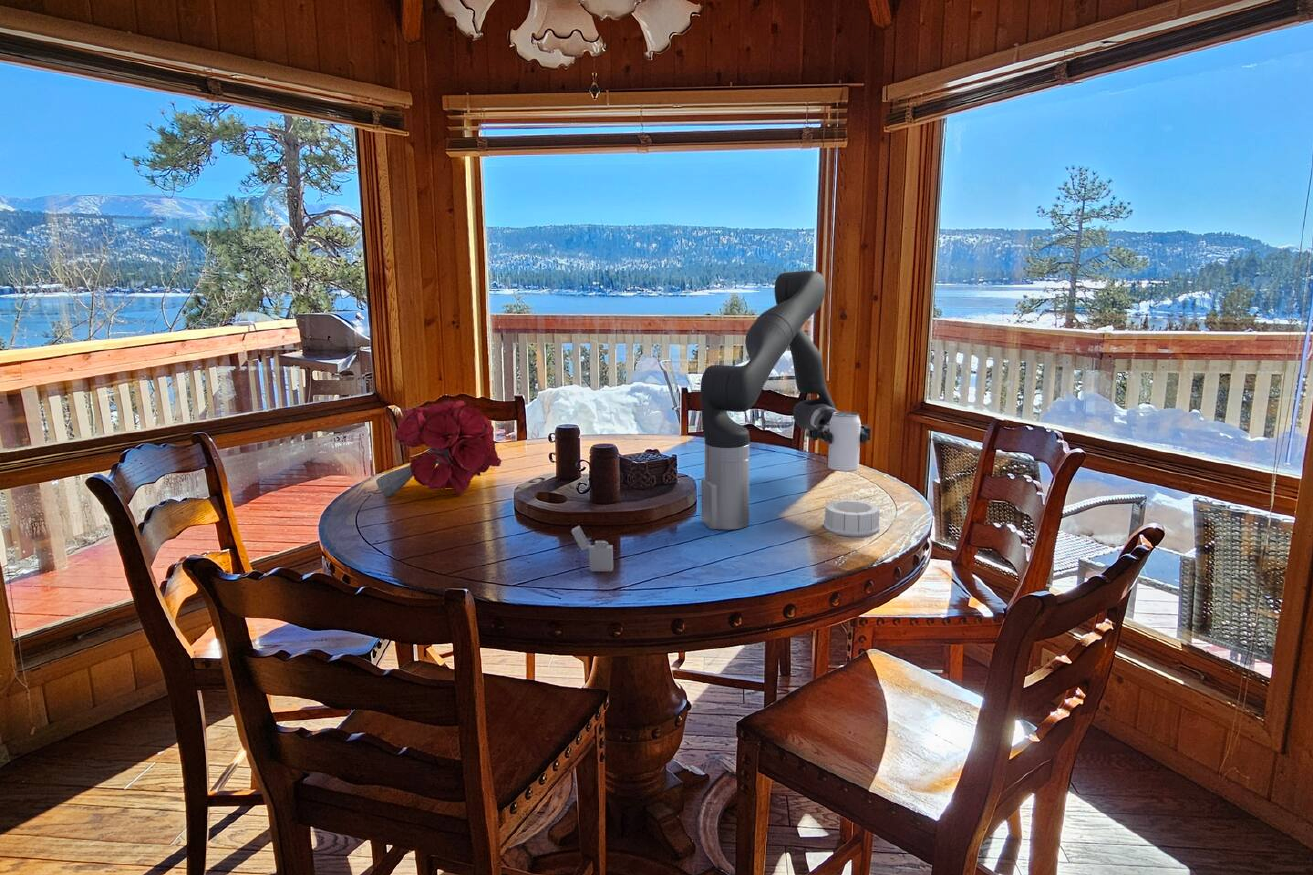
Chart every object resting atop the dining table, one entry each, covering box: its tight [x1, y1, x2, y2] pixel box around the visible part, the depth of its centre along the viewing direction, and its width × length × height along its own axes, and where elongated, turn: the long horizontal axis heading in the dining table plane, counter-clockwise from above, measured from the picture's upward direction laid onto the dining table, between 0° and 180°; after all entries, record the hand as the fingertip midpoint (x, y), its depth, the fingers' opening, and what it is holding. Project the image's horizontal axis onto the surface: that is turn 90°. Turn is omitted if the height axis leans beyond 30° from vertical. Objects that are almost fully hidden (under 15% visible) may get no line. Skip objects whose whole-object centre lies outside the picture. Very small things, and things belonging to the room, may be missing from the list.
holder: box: [823, 499, 880, 538], centre depth 163 cm, size 11×11×4 cm
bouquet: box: [375, 400, 502, 498], centre depth 192 cm, size 22×24×30 cm
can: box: [827, 411, 862, 473], centre depth 171 cm, size 6×6×12 cm
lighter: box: [570, 525, 614, 572], centre depth 142 cm, size 7×2×8 cm, turn 88°
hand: (847, 438), depth 169 cm, fingers closed on can, 6 cm apart
